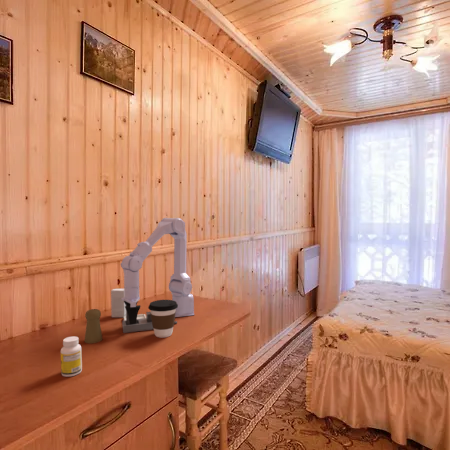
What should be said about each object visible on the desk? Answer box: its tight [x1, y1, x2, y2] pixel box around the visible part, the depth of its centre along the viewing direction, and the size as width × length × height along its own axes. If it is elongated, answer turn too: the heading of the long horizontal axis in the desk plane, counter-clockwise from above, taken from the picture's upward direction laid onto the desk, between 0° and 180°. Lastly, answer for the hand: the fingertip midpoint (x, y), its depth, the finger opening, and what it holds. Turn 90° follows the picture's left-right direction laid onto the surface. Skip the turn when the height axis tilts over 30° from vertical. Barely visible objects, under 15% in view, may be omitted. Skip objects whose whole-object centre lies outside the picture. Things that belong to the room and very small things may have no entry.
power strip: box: [122, 311, 178, 334], centre depth 131 cm, size 22×7×6 cm, turn 110°
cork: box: [83, 308, 103, 344], centre depth 117 cm, size 6×6×11 cm
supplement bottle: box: [60, 336, 83, 378], centre depth 93 cm, size 5×5×10 cm
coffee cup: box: [148, 299, 178, 339], centre depth 122 cm, size 11×11×12 cm
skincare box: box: [110, 288, 126, 318], centre depth 145 cm, size 6×4×12 cm
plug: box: [126, 310, 131, 325], centre depth 128 cm, size 4×4×7 cm
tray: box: [123, 313, 146, 321], centre depth 139 cm, size 9×7×1 cm
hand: (132, 320), depth 129 cm, fingers open, 7 cm apart
